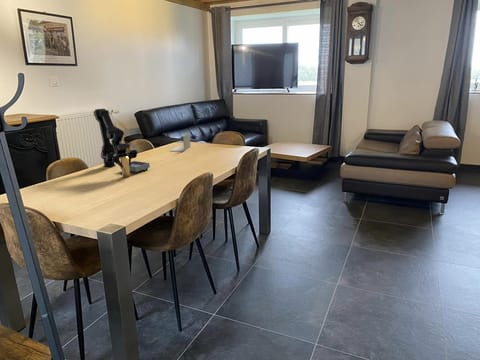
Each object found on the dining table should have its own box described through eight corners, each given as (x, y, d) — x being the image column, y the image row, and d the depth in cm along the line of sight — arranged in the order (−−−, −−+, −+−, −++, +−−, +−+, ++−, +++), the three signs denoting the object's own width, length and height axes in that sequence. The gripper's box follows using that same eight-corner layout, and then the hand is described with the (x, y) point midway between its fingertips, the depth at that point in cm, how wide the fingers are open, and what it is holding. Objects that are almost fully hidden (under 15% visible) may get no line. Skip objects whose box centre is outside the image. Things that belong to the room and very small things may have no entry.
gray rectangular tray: (121, 171, 237) (120, 164, 235) (134, 167, 247) (134, 160, 245) (136, 173, 230) (135, 167, 229) (150, 169, 240) (149, 163, 238)
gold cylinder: (120, 177, 223) (118, 157, 220) (126, 175, 227) (124, 155, 224) (127, 178, 221) (124, 158, 218) (132, 176, 225) (130, 156, 222)
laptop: (176, 147, 312) (175, 132, 308) (190, 147, 310) (189, 132, 306) (169, 151, 295) (168, 135, 291) (184, 151, 293) (183, 135, 289)
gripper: (104, 140, 215) (112, 161, 210) (135, 136, 226) (143, 157, 221) (102, 151, 224) (110, 172, 218) (131, 147, 234) (139, 167, 229)
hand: (126, 166), depth 221 cm, fingers closed on gold cylinder, 5 cm apart
